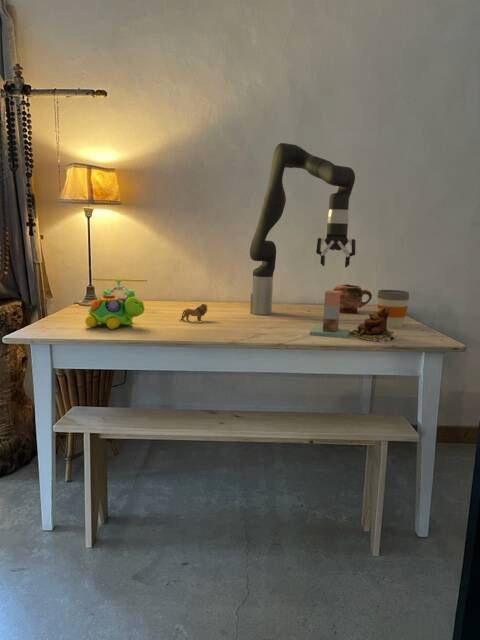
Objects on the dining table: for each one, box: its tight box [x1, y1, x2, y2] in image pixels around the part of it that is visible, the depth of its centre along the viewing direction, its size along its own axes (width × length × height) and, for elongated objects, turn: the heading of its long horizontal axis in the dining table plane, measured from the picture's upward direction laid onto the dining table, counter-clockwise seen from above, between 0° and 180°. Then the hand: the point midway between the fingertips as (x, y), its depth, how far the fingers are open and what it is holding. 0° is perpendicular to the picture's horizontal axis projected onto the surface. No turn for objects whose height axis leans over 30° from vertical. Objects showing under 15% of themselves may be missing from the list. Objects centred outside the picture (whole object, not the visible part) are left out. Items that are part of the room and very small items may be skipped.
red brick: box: [323, 289, 340, 306], centre depth 184 cm, size 5×7×5 cm
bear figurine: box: [349, 307, 396, 343], centre depth 180 cm, size 14×15×12 cm
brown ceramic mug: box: [333, 283, 373, 315], centre depth 230 cm, size 20×12×14 cm, turn 95°
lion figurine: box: [179, 303, 208, 323], centre depth 202 cm, size 12×4×7 cm, turn 111°
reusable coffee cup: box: [376, 289, 410, 329], centre depth 201 cm, size 13×12×15 cm
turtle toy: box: [84, 294, 145, 330], centre depth 189 cm, size 17×23×12 cm
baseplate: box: [309, 325, 351, 339], centre depth 186 cm, size 14×12×1 cm
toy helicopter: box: [91, 278, 148, 300], centre depth 224 cm, size 25×9×15 cm, turn 93°
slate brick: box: [323, 304, 340, 319], centre depth 185 cm, size 5×7×5 cm
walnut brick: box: [322, 316, 340, 332], centre depth 185 cm, size 5×7×5 cm
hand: (334, 266), depth 181 cm, fingers open, 8 cm apart
